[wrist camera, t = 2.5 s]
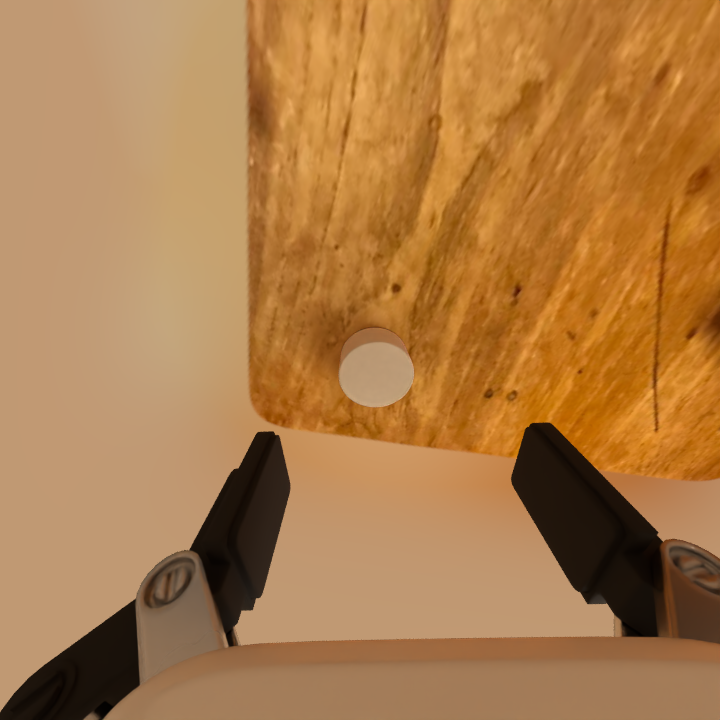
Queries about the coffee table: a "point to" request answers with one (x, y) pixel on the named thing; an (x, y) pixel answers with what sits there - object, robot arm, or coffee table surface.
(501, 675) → the robot arm
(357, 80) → the coffee table surface
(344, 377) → the cylinder
